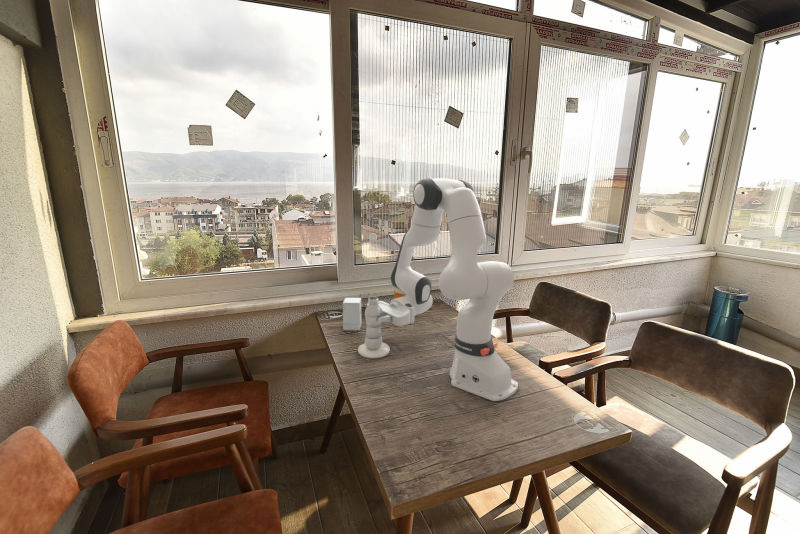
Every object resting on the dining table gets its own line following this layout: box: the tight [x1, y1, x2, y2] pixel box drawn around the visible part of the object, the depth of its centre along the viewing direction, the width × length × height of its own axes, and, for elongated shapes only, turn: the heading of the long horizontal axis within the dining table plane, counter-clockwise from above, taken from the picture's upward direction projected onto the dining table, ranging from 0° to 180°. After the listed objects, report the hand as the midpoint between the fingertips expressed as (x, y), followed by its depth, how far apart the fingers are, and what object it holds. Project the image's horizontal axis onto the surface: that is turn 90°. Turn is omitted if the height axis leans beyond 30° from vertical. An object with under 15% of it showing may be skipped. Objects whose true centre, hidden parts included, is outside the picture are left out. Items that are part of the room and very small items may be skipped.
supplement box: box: [342, 297, 362, 331], centre depth 163 cm, size 7×7×13 cm
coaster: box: [357, 342, 391, 359], centre depth 143 cm, size 12×12×1 cm
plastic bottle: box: [364, 296, 383, 350], centre depth 140 cm, size 6×7×20 cm
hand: (371, 317), depth 139 cm, fingers closed on plastic bottle, 6 cm apart
